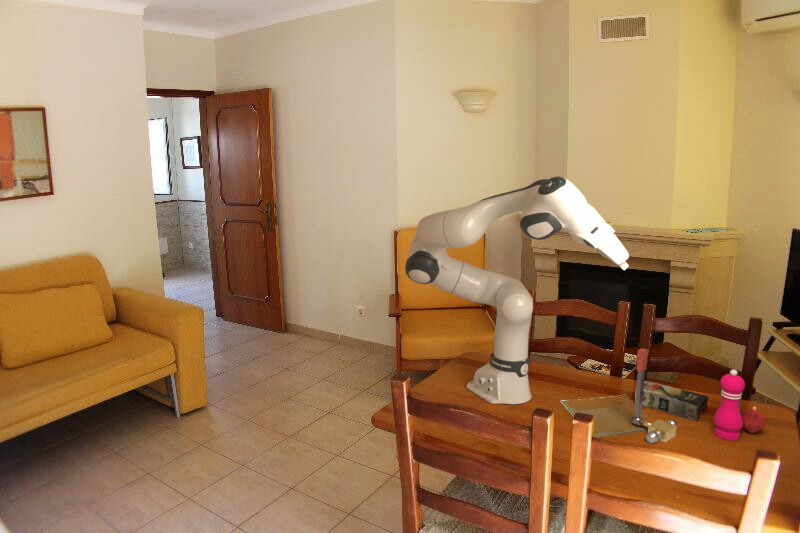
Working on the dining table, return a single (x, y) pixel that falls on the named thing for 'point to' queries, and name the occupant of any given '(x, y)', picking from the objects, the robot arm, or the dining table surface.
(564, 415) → the dining table surface
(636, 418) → the valve lever
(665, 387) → the juice carton
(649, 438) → the valve body
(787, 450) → the dining table surface
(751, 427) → the onion
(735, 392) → the pepper mill
